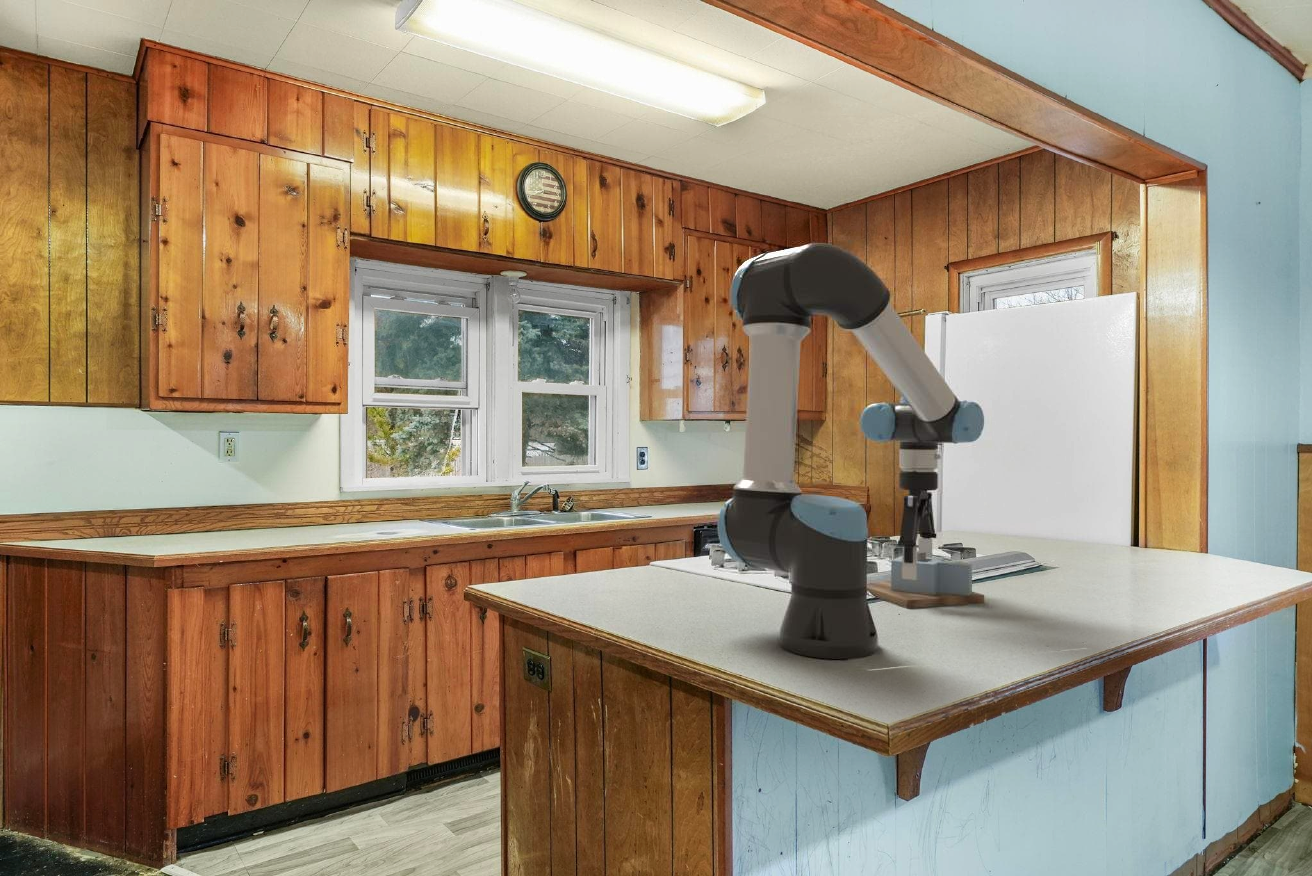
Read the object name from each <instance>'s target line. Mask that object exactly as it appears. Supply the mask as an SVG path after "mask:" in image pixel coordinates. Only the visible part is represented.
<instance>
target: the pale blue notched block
mask: <svg viewBox="0 0 1312 876" xmlns="http://www.w3.org/2000/svg"><path fill="white" fill-rule="evenodd" d="M890 563H891V565H890V566H891V567H890V568H891V569H890V571H891V573H890V574H891V575H890V576H891V577H890V581H891V590H895V591H904V592H913V593H922V594H931V595H935V594H936V593H938V592H940V593H949V594H958V595H967V596H970V595H971V594H972V592H973V563H971V562H970V563H969V562H964V563H959V562H955V561H948V560H947V561H945V558H938V557H932V558H929V557H926V562H918V561H917V580H910V579H902V555H901V556H898V557H896V558H894V559H891V561H890Z"/></svg>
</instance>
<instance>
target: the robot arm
mask: <svg viewBox="0 0 1312 876" xmlns="http://www.w3.org/2000/svg"><path fill="white" fill-rule="evenodd" d="M729 295H730V303H731V307H732V308H733V309H735V310H734V314H735V315H736V317H737V318H738V319H739V320H741V321H742V331H743V332H744V333H745V335H746V336H748V338H749V340H750V342H749V343H750V344H749V346H750V347H749V361H748V363H749V364H748V365H749V366H748V380H747V382H748V383H747V399H746V416H745V417H746V418H745V434H744V435H745V436H744V453H743V454H744V455H743V469H742V471H743V472H742V478H741V479H740V480H739V481H738V482H737V483H735V484H734V486H733V491H732V493H733V494H732V498H730V499H728V500H727V501H726V502H725V503H724V505H723V508H721V509H720V511H719V513H718V514H719V515H718V519H717V526H716V527H717V535H718V540H719V543H720V545H721V547H722V549H723V550H724V552H726V554H727V556H728V557H730V558H731V559H732V560H734V561H735V562H738V563H740V564H742V565H743V564H744V565H747V566H748V567H751V568H754V569H755V568H757V569H758V568H762V569H767V570H773V571H778V572H783V573H789V574H791V575H790V576H791V578H790V580H791V583H790V585H791V587H790V588H791V589H790V590H791V591H790V599H789V601H788V603H787V607H786V610H785V613H784V616H783V618H782V619H783V620H782V623H781V625H780V629H779V645H780V646H781V647H782V649H784V650H786V651H788V652H791V653H793V654H796V655H801V656H806V657H811V658H819V659H831V660H845V659H846V660H848V659H849V660H851V659H860V658H864V657H865V658H866V657H869V656H872V655H875V654H876V653H877V652H878V651H879V650H878V649H879V636H878V635H879V634H878V632H877V629H876V625H875V622H874V619H873V616H872V613H871V609H870V606H869V603H868V598H867V596H868V595H867V582H868V579H867V578H868V537H869V528H868V520H867V518H868V517H867V515H868V514H867V512H866V509H864V507H863V506H862V505H861V504H859V503H857V502H856V501H853V500H849V499H846V498H841V497H837V496H831V495H830V496H828V495H821V494H802V493H803V490H802V489H801V488H800V486H798V484H797V483H796V482H795V480H794V477H795V476H794V475H795V474H794V473H795V457H796V456H795V454H796V439H797V438H796V437H797V419H798V418H797V415H798V402H799V401H798V399H799V398H798V397H799V383H800V382H799V380H800V364H801V361H800V360H801V346H802V345H801V344H802V343H801V342H802V341H803V339H805V337H807V335H809V334H810V333H811V325H812V317H816V316H825V317H829V318H831V319H833V320H834V321H835V322H836V324H837V325H838V326H839V328H841V329H842V330H844V331H848V332H851V333H852V334H853V335H854V337H856V339H857V340H858V342H859V343H860V344H861V345H862V346H863V348H864V349H865V350H866V351H867V353H868V354H869V356H870V357H871V359H872V361H874V362H875V363H876V365H877V366H878V368H879V369H880V370H881V372H883V373H884V375H885V376H886V378H887V379H888V381H890V383H891V384H892V386H893V387H894V388H895V389H896V390H897V392H898V393H899V395H900V396H901V397H900V399H899V400H900V401H899V403H898V402H896V403H892V402H891V403H888V402H879V403H876V402H875V403H872V404H870V405H867V406H866V407H865V408H864V409H863V411H862V413H861V416H860V419H859V420H860V421H859V423H860V424H859V425H860V431H861V432H862V434H863V436H864V437H865V438H867V439H868V440H869V441H873V442H878V443H886V442H888V443H889V442H890V443H891V442H893V443H897V442H898V443H899V455H898V458H899V459H898V463H899V466H898V467H899V468H900V469H901V471H900V472H899V473H898V474H899V476H898V477H899V478H898V479H899V480H898V481H899V483H898V487H899V489H901V490H904V491H908V495H904V496H903V512H902V517H901V518H902V519H901V525H900V532H899V533H900V535H899V538H898V540H897V546H900V547H901V548H902V550H901V551H902V552H901V553H902V554H901V556H902V579H910V580H917V551H922V552H926V557H929V558H933V539H937V533H936V530H935V522H934V521H935V520H934V510H933V503H932V502H933V501H932V496H933V493H932V492H930V491H936V490H937V489H938V488H939V473H938V472H937V471H935V470H937V469H938V465H939V460H940V459H941V457H942V455H941V454H938V453H939V450H938V449H939V443H942V444H948V443H949V444H956V445H957V444H959V443H960V444H962V443H972V442H976V441H977V440H978V439H980V437H981V435H982V432H983V430H984V427H985V416H984V411H983V409H982V407H981V405H979V404H978V403H976V402H974V401H967V400H963V401H960V400H959V398H958V397H957V396H956V394H954V391H953V390H952V389H951V388H950V385H948V384H947V382H946V381H945V379H944V378H943V376H942V375H941V374H940V372H939V370H938V369H937V367H936V366H935V365H934V363H933V362H932V361H931V359H930V358H929V357H928V355H927V354H926V352H925V351H924V350H923V348H922V347H921V345H920V344H919V343H918V341H917V339H916V338H915V337H914V335H913V334H912V332H911V331H910V329H909V328H908V327H907V325H906V324H905V322H904V321H903V320H902V318H901V317H900V316H899V314H898V312H897V311H896V310H895V308H894V307H893V306H892V304H891V301H892V294H891V291H890V290H889V288H888V287H887V286H886V284H885V282H884V281H883V280H882V279H881V278H880V276H879V275H878V274H877V273H876V272H875V271H874V270H873V269H872V268H871V267H870V266H869V265H868V264H866V263H865V262H864V261H863V260H861V259H860V258H859V257H857V256H856V255H854V253H853V254H852V253H851V252H850V251H848V250H846V249H844V248H841V247H840V246H837V245H833V244H831V243H825V242H813V243H812V242H811V243H808V244H804V245H800V246H796V247H792V248H788V249H784V250H783V249H782V250H779V251H777V250H776V251H773V252H765V253H762V254H760V255H758V256H755V257H752V258H750V259H748V260H746V261H745V262H744V263H742V265H740V266H739V267H738V269H737V270H736V271H735V274H734V276H733V277H732V281H731V286H730V292H729ZM918 534H919V537H918ZM917 539H918V542H917ZM917 543H918V546H916V545H917Z"/></svg>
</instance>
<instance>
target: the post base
mask: <svg viewBox="0 0 1312 876" xmlns="http://www.w3.org/2000/svg"><path fill="white" fill-rule="evenodd" d="M917 561H918V562H926V552H922V551H918V550H917ZM877 582H878V583H869V584H867V591H869V592H870V593H871V594H872V595H873V596H875V597H874V598H876V599H878V600H879V599H880V600H882V601H885V602H888V603H890V604H893V605H896V606H900V607H902V608H905V609H914V608H927V607H928V608H929V607H940V606H941V607H942V606H955V605H968V604H982V603H985V594H982V593H978V592H975V591H972V594H971V595H970V596H967V595H958V594H949V593H940V592H938V593H936V594H935V595H931V594H922V593H913V592H904V591H895V590H891V580H886V581H885V580H883V582H882V581H877ZM873 596H872V597H873Z"/></svg>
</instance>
